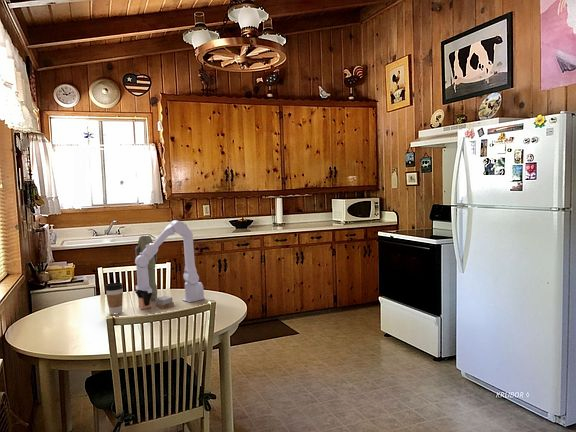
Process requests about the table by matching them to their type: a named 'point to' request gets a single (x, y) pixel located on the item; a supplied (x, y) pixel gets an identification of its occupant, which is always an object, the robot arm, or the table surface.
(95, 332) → the table surface
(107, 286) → the coffee cup
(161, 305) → the tower base
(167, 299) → the tower middle
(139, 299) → the terracotta block
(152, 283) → the stone statue
